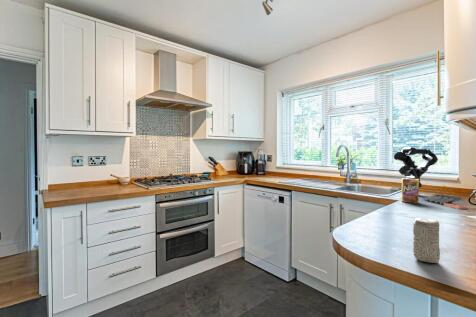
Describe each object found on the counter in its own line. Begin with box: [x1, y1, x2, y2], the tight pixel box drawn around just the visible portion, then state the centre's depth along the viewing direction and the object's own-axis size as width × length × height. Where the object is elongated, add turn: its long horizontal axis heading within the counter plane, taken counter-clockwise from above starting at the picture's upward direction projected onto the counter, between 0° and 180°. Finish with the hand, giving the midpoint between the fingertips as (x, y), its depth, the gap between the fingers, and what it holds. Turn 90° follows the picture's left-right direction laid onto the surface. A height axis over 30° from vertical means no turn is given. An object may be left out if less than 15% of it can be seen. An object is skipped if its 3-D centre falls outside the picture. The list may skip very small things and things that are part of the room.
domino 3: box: [433, 195, 456, 204], centre depth 154 cm, size 2×5×10 cm
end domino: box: [443, 202, 468, 210], centre depth 146 cm, size 2×5×10 cm
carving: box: [412, 217, 441, 264], centre depth 72 cm, size 6×8×12 cm
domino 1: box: [424, 193, 444, 202], centre depth 162 cm, size 2×5×10 cm
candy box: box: [400, 177, 420, 204], centre depth 161 cm, size 9×4×15 cm, turn 60°
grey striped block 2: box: [428, 194, 450, 203], centre depth 158 cm, size 2×5×10 cm
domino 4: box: [438, 196, 462, 205], centre depth 150 cm, size 2×5×10 cm
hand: (418, 179), depth 175 cm, fingers closed
